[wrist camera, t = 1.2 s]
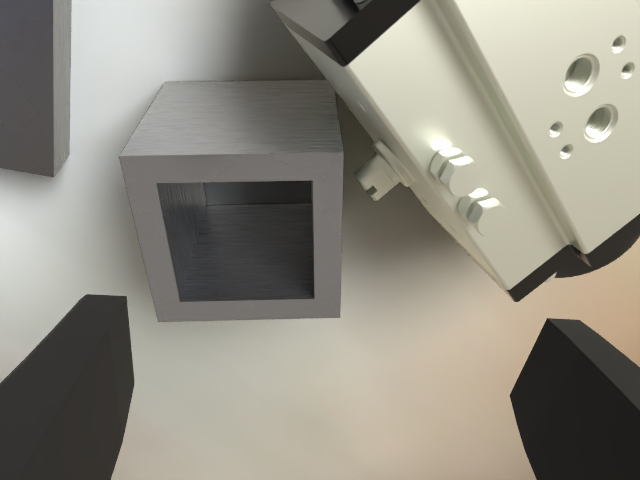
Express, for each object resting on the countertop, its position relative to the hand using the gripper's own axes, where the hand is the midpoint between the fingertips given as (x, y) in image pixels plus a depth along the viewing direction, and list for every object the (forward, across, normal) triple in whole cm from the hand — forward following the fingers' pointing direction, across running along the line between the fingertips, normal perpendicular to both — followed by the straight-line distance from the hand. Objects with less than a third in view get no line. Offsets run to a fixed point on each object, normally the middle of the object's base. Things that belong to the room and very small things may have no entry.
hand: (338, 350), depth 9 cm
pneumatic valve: (+8, -10, -9) cm, 15 cm away
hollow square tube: (+10, +2, +1) cm, 10 cm away
